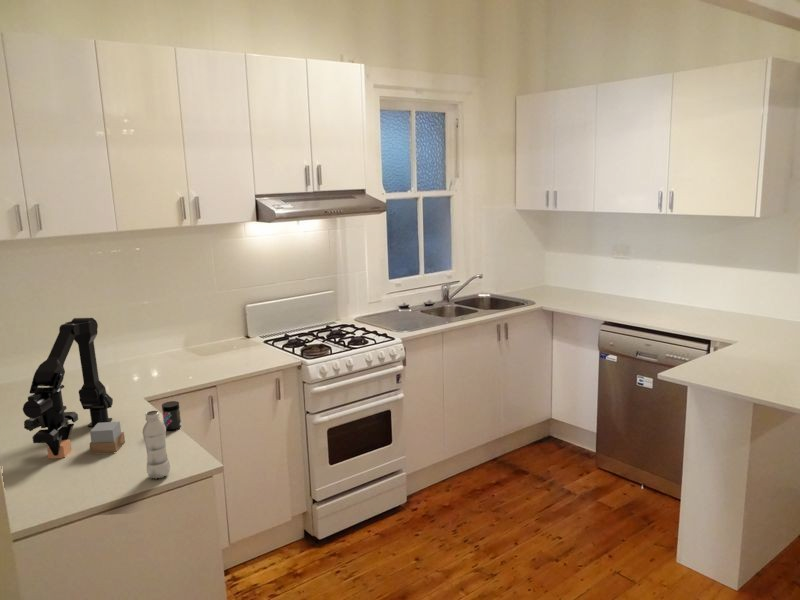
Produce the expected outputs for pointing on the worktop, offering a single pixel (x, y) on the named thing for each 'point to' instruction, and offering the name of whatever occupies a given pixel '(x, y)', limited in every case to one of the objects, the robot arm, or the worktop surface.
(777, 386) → the worktop surface
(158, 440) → the plastic bottle
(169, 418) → the supplement container
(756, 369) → the worktop surface
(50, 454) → the terracotta block
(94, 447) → the walnut base block
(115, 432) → the slate top block
